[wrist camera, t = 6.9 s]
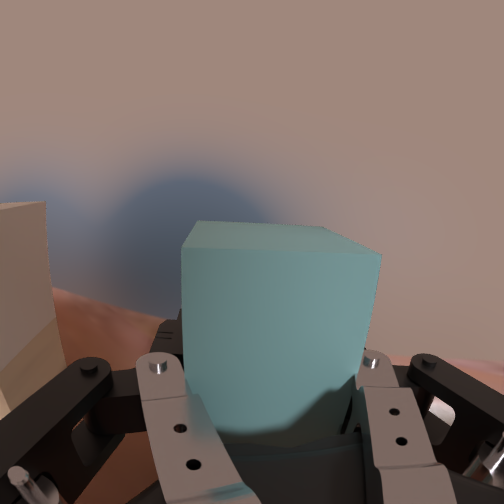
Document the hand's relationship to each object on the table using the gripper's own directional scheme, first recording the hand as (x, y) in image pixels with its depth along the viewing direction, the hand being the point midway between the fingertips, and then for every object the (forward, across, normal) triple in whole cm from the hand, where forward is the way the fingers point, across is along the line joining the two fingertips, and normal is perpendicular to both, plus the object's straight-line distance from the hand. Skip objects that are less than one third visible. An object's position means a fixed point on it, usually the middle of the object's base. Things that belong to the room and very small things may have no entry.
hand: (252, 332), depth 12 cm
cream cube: (-1, +13, +1) cm, 13 cm away
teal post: (-3, 0, +6) cm, 7 cm away
